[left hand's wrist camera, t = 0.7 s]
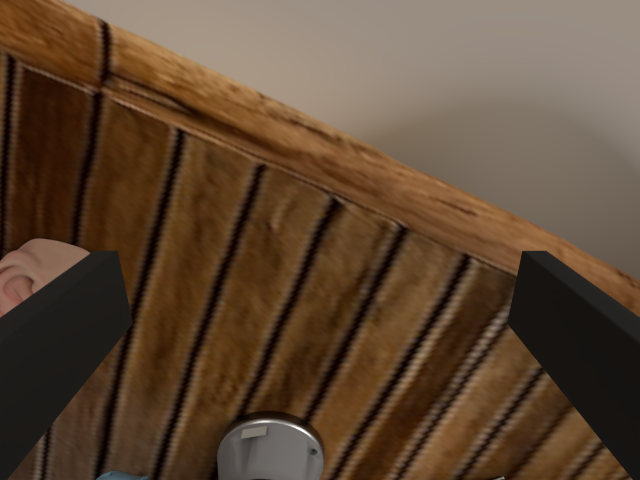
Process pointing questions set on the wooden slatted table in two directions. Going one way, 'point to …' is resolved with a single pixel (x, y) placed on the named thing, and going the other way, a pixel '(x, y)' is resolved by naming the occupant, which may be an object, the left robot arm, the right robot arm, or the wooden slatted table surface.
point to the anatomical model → (34, 269)
